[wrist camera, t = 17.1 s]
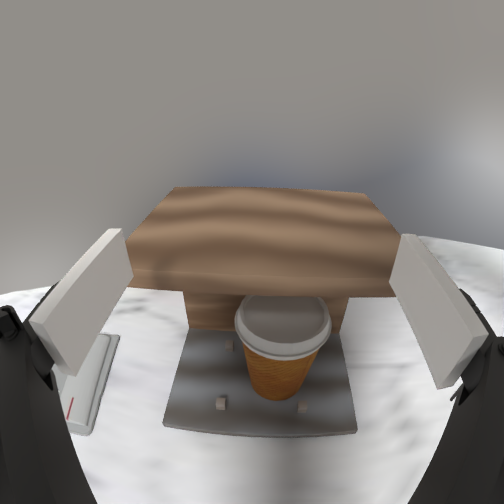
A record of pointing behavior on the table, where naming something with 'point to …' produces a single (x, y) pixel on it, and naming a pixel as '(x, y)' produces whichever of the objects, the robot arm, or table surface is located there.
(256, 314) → the disposable coffee cup
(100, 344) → the office telephone
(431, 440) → the table surface
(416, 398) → the table surface
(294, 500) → the table surface
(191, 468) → the table surface
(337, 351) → the walnut overhang shelf
